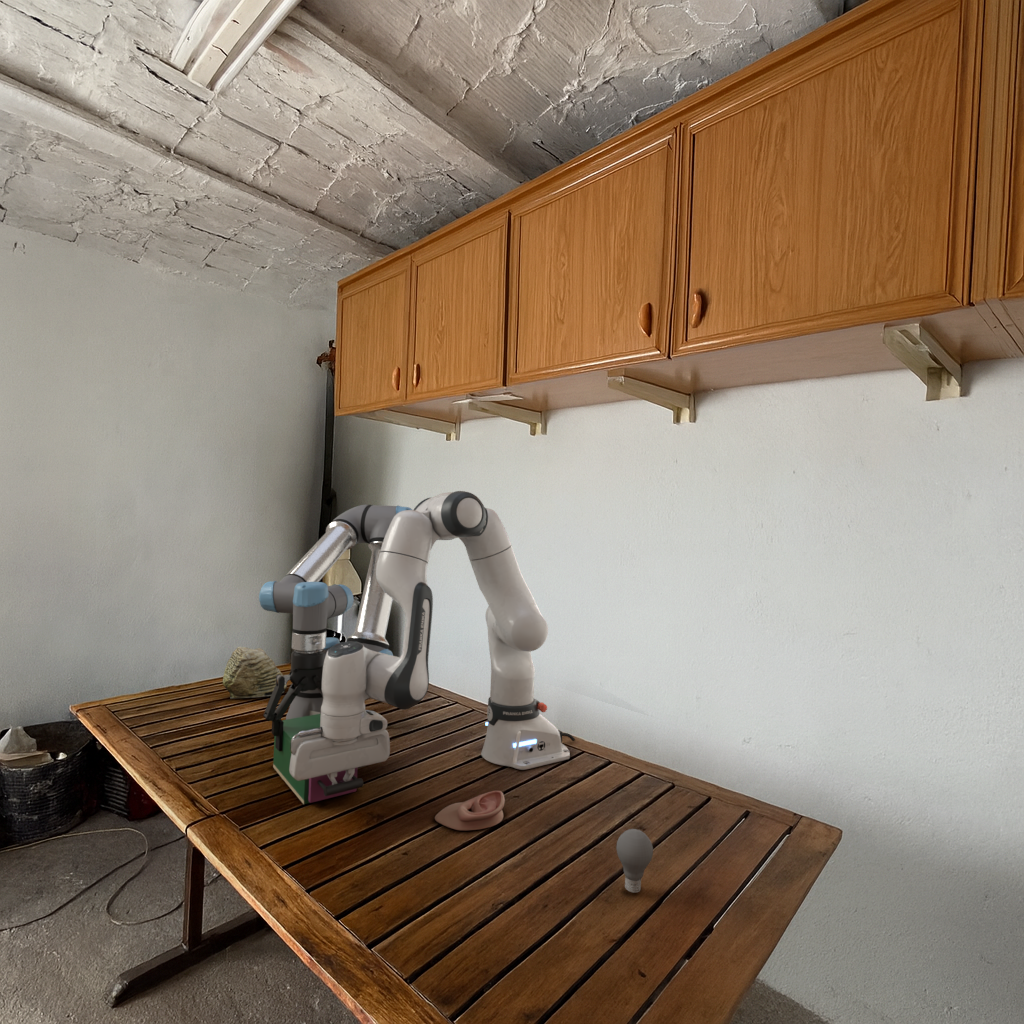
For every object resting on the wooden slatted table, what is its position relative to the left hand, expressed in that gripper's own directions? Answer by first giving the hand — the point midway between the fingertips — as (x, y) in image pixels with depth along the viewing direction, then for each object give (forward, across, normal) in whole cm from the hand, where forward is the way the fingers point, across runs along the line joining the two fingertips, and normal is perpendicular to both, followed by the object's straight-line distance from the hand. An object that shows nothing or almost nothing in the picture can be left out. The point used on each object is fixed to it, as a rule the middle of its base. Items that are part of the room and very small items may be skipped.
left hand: (305, 743), depth 146 cm
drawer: (+5, 0, -11) cm, 12 cm away
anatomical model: (+6, +20, -39) cm, 44 cm away
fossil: (+6, +5, +61) cm, 61 cm away
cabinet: (+6, 0, -6) cm, 8 cm away
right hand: (+2, 0, -21) cm, 21 cm away
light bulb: (+6, +30, -74) cm, 80 cm away
